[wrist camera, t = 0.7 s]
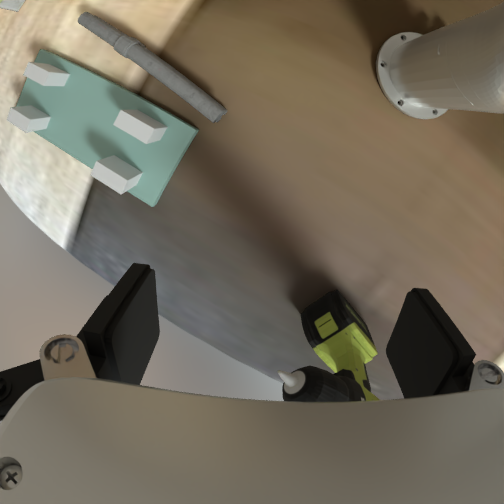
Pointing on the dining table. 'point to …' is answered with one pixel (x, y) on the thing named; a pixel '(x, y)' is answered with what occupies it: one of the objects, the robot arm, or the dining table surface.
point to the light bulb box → (11, 4)
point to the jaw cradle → (102, 126)
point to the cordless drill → (333, 355)
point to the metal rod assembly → (154, 66)
